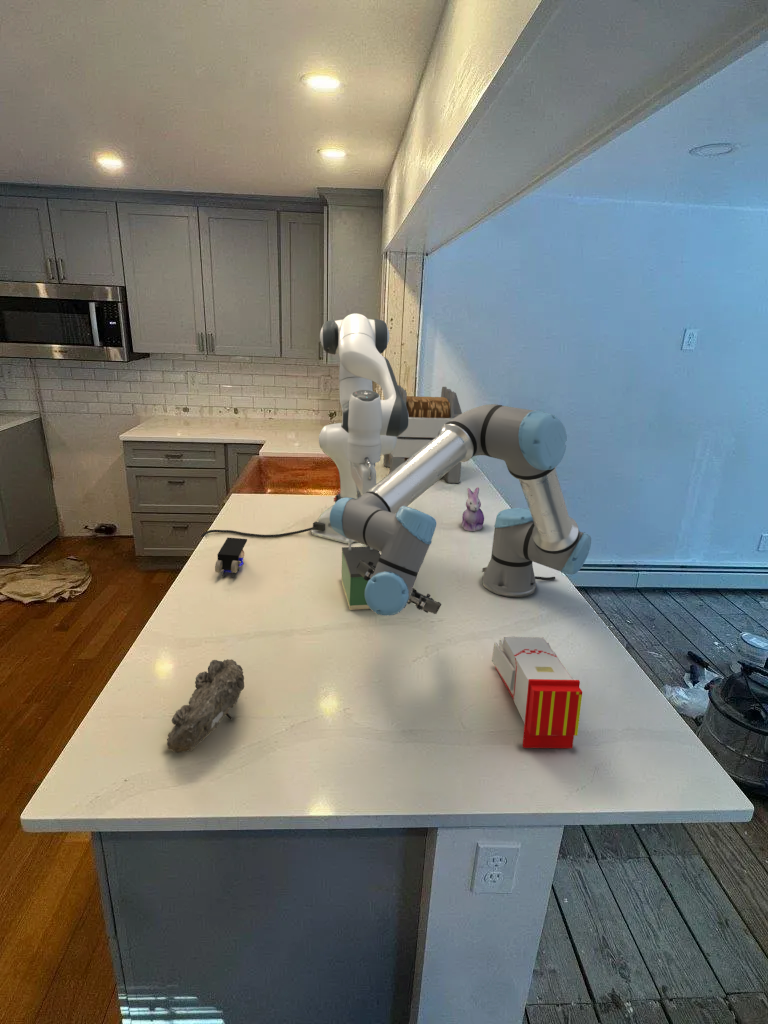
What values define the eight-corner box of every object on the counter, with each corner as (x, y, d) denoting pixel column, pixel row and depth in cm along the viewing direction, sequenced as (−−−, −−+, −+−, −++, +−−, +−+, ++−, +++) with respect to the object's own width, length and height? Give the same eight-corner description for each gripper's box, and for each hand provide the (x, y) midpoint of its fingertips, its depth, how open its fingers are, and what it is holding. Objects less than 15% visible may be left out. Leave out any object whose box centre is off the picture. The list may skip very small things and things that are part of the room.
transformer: (382, 463, 289) (386, 382, 275) (445, 464, 293) (451, 384, 279) (390, 482, 257) (394, 392, 243) (460, 483, 261) (468, 394, 247)
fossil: (192, 660, 117) (244, 628, 112) (224, 691, 120) (276, 661, 115) (142, 746, 98) (202, 712, 93) (182, 779, 101) (242, 748, 96)
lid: (341, 550, 161) (342, 523, 158) (376, 549, 163) (377, 522, 160) (350, 577, 145) (351, 548, 142) (388, 575, 147) (390, 547, 144)
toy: (540, 620, 128) (592, 687, 99) (535, 674, 131) (584, 755, 102) (487, 619, 128) (523, 686, 99) (483, 673, 131) (517, 754, 101)
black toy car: (238, 584, 162) (249, 557, 175) (236, 562, 158) (247, 536, 172) (215, 584, 161) (227, 556, 175) (212, 561, 158) (225, 535, 171)
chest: (341, 580, 164) (342, 551, 161) (375, 579, 166) (376, 549, 163) (349, 609, 148) (350, 577, 145) (387, 607, 150) (388, 575, 147)
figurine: (470, 533, 202) (474, 493, 197) (453, 524, 211) (457, 485, 206) (491, 530, 207) (495, 491, 202) (474, 520, 215) (478, 483, 210)
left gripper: (383, 463, 141) (381, 515, 146) (369, 444, 160) (367, 491, 165) (358, 463, 140) (356, 516, 145) (347, 444, 159) (346, 491, 164)
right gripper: (328, 576, 112) (346, 573, 133) (440, 638, 109) (440, 625, 130) (346, 543, 113) (361, 545, 134) (458, 604, 109) (455, 596, 131)
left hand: (362, 502), depth 155 cm, fingers open, 8 cm apart
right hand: (400, 585), depth 132 cm, fingers open, 13 cm apart
